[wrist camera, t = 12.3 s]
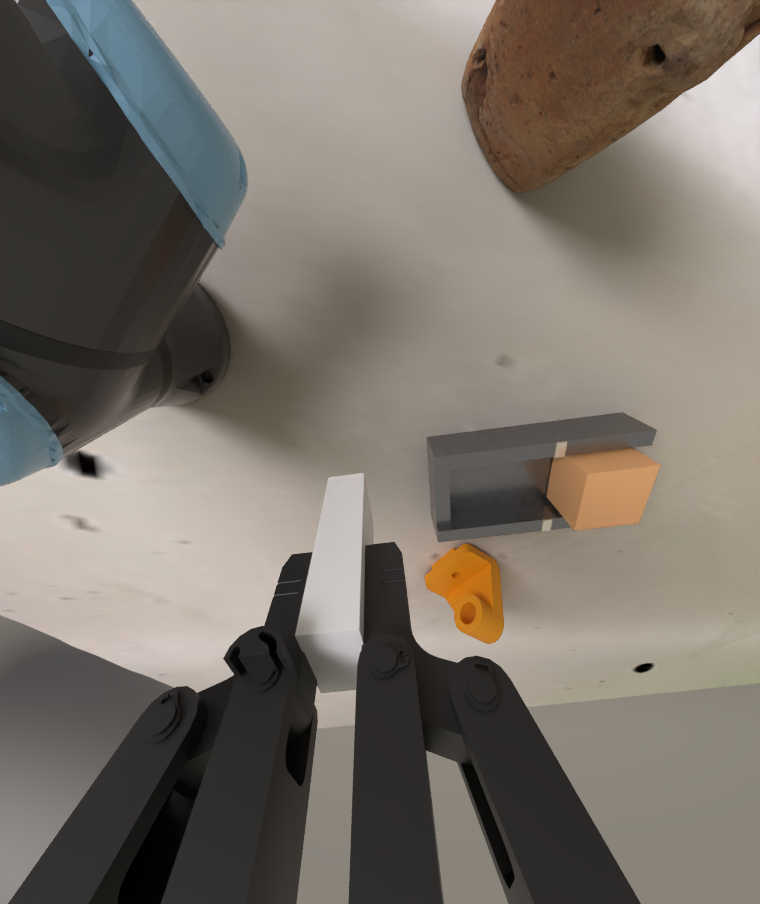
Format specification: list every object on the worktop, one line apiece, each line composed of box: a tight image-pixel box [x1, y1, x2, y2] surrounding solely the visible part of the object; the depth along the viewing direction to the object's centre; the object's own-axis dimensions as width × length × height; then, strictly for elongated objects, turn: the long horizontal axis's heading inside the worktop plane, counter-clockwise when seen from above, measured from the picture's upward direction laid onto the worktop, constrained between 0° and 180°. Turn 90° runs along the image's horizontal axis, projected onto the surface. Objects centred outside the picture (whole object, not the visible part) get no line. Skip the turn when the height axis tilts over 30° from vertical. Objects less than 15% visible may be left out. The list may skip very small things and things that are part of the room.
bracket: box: [425, 544, 504, 644], centre depth 49 cm, size 11×7×12 cm, turn 142°
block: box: [461, 0, 760, 193], centre depth 18 cm, size 11×8×20 cm
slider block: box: [546, 448, 661, 531], centre depth 39 cm, size 8×9×7 cm
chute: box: [427, 413, 657, 542], centre depth 42 cm, size 26×14×6 cm, turn 97°
